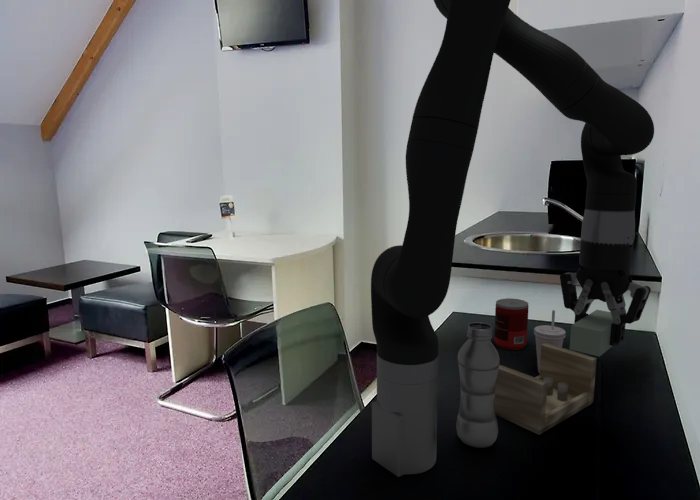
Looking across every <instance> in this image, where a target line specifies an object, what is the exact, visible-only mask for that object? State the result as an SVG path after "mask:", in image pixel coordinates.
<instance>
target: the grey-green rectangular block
mask: <svg viewBox="0 0 700 500" xmlns="http://www.w3.org/2000/svg"><path fill="white" fill-rule="evenodd" d="M612 323H614V322H613V319H612V316H611V312H610V311H606V310H601V309H595V310H593V311H592V312H591V313H588V315H587V316H586V317H584V318H582V319H581V320H579V321H577V322H576V323H572V324H571V327H570V336H569V338H570V339H569V340H570V341H569V350H571V351H574V352H578V353H581V354H585V355H589V356H590V355H591V356H595V357H601V356H603V354H605V353H606V352H607V351H608V350H609V349H611V348H612V347H613V346H611V345H610V334H611V324H612Z"/></svg>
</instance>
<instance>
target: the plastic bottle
mask: <svg viewBox="0 0 700 500" xmlns="http://www.w3.org/2000/svg"><path fill="white" fill-rule="evenodd" d="M492 326H493V325H491V324H489V323H487V322H486V323H485V322H477V321H476V322H470V323H468V326H467V332H466V337H467V338H468V339H467V340H466V341H465V342H464V343H463V345H462V346H461V347H460V349H459V351H458V354H457V363H458V371H459V379H460V380H459V383H460V398H459V408H458V409H459V410H458V414H457V417H456V423H455V426H456V427H455V428H456V434H457V437H458V438H459V439H460V441H461V442H462V443H464V444H465V445H467V446H469V447H472V448H477V449H485V448H489V447H491V446H493V444H494V443H495V442H496V441H497V437H498V434H499V427H498V419H497V418H498V417H497V415H496V411H495V390H496V380H497V375H498V370H499V365H501V364H500V362H501V359H500V355H499V352H498V350H497V349H496V347H495V345H494V344H493V343H492V341H491V340H492V339H493V327H492Z"/></svg>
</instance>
